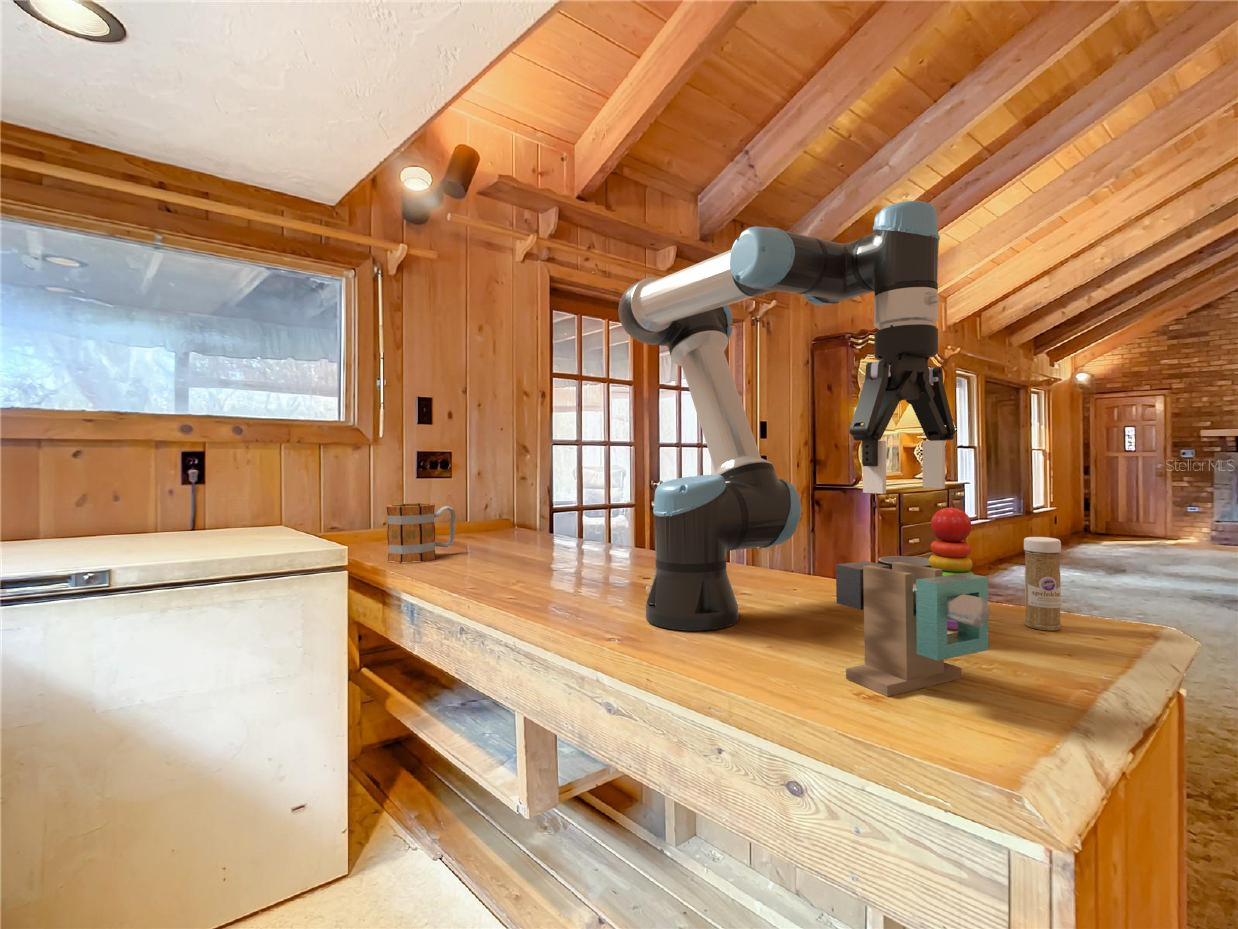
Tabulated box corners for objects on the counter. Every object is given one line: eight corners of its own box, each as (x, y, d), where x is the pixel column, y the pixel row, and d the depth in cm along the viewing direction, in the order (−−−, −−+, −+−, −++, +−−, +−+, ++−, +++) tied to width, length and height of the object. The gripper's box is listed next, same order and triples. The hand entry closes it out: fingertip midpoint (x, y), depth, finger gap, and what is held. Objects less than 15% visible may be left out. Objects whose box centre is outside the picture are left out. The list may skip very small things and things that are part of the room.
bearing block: (846, 678, 71) (844, 568, 71) (917, 662, 76) (916, 559, 76) (887, 696, 66) (885, 577, 66) (961, 678, 71) (960, 567, 70)
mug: (396, 565, 157) (395, 507, 156) (379, 559, 167) (377, 505, 167) (466, 556, 169) (465, 503, 169) (445, 551, 180) (444, 501, 179)
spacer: (916, 653, 64) (916, 579, 64) (966, 643, 68) (966, 573, 68) (937, 660, 62) (937, 583, 62) (988, 650, 65) (988, 577, 65)
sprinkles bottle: (1038, 632, 88) (1037, 540, 88) (1017, 623, 92) (1016, 536, 92) (1069, 631, 88) (1068, 539, 88) (1047, 622, 92) (1046, 535, 92)
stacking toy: (930, 646, 83) (928, 510, 82) (910, 629, 90) (908, 505, 90) (992, 647, 81) (990, 509, 81) (966, 630, 89) (964, 505, 89)
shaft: (836, 603, 77) (835, 564, 77) (865, 598, 79) (864, 561, 79) (963, 639, 61) (962, 590, 61) (995, 633, 63) (995, 585, 63)
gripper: (874, 310, 68) (874, 497, 69) (983, 332, 82) (983, 487, 82) (819, 322, 74) (820, 493, 75) (929, 340, 88) (929, 485, 89)
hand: (905, 490), depth 79 cm, fingers open, 13 cm apart
